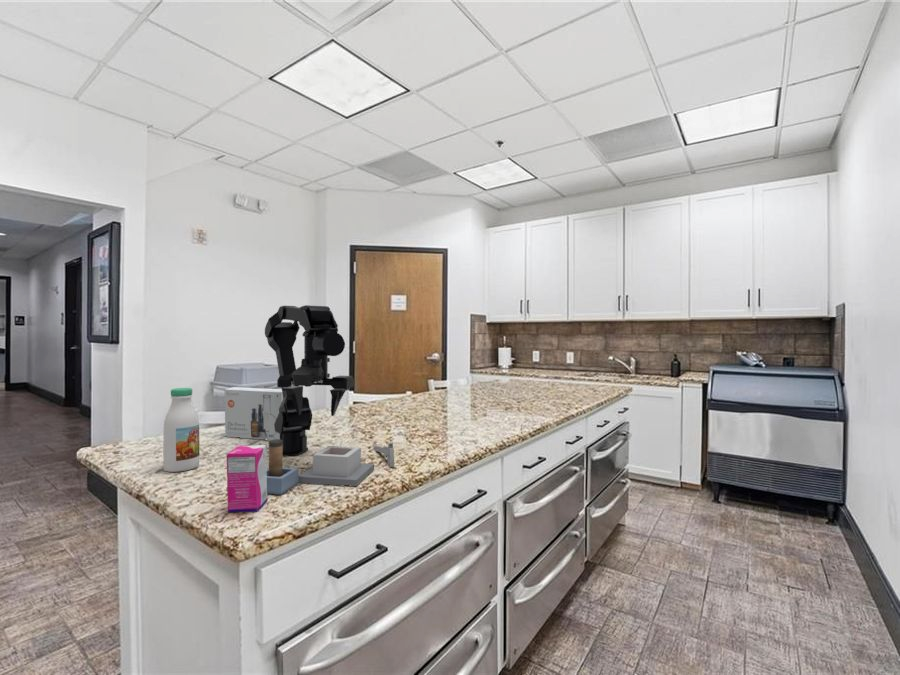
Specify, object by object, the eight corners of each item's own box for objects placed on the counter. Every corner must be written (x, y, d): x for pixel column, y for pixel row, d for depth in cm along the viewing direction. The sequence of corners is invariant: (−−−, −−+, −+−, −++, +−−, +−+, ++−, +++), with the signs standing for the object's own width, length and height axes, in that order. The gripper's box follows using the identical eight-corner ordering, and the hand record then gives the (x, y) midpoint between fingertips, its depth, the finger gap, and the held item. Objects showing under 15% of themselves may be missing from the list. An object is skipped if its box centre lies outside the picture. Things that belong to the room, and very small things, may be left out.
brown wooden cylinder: (266, 488, 94) (266, 442, 94) (273, 483, 97) (273, 438, 97) (278, 488, 94) (278, 442, 94) (284, 484, 97) (285, 439, 97)
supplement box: (238, 501, 89) (238, 444, 88) (268, 500, 89) (268, 444, 89) (225, 513, 83) (225, 452, 83) (258, 512, 83) (258, 452, 83)
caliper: (394, 468, 111) (394, 444, 111) (390, 469, 110) (390, 444, 110) (376, 448, 130) (376, 427, 130) (372, 449, 129) (372, 428, 129)
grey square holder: (297, 482, 99) (297, 456, 99) (321, 466, 111) (321, 443, 111) (356, 486, 97) (356, 460, 97) (374, 469, 109) (374, 446, 109)
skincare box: (223, 437, 141) (223, 388, 141) (235, 433, 146) (235, 386, 146) (281, 441, 136) (281, 391, 136) (291, 437, 141) (291, 388, 141)
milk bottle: (161, 474, 104) (161, 391, 104) (165, 465, 111) (165, 387, 111) (198, 470, 108) (198, 389, 108) (200, 461, 115) (200, 386, 114)
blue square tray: (251, 493, 93) (251, 476, 93) (270, 481, 100) (270, 466, 100) (281, 495, 92) (281, 478, 92) (298, 483, 99) (298, 468, 99)
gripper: (264, 355, 105) (264, 419, 106) (337, 356, 103) (337, 422, 103) (288, 353, 117) (288, 411, 117) (355, 354, 114) (354, 414, 114)
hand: (315, 415), depth 112 cm, fingers open, 9 cm apart
